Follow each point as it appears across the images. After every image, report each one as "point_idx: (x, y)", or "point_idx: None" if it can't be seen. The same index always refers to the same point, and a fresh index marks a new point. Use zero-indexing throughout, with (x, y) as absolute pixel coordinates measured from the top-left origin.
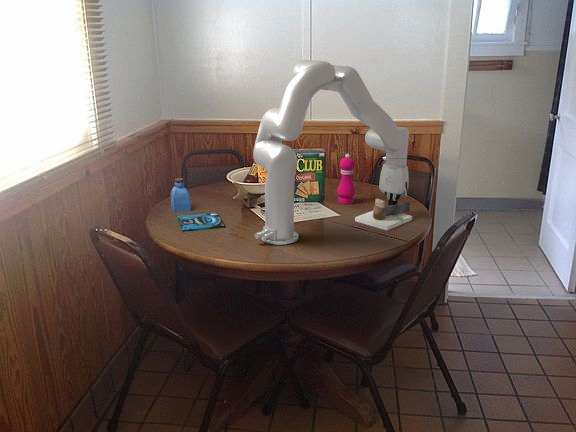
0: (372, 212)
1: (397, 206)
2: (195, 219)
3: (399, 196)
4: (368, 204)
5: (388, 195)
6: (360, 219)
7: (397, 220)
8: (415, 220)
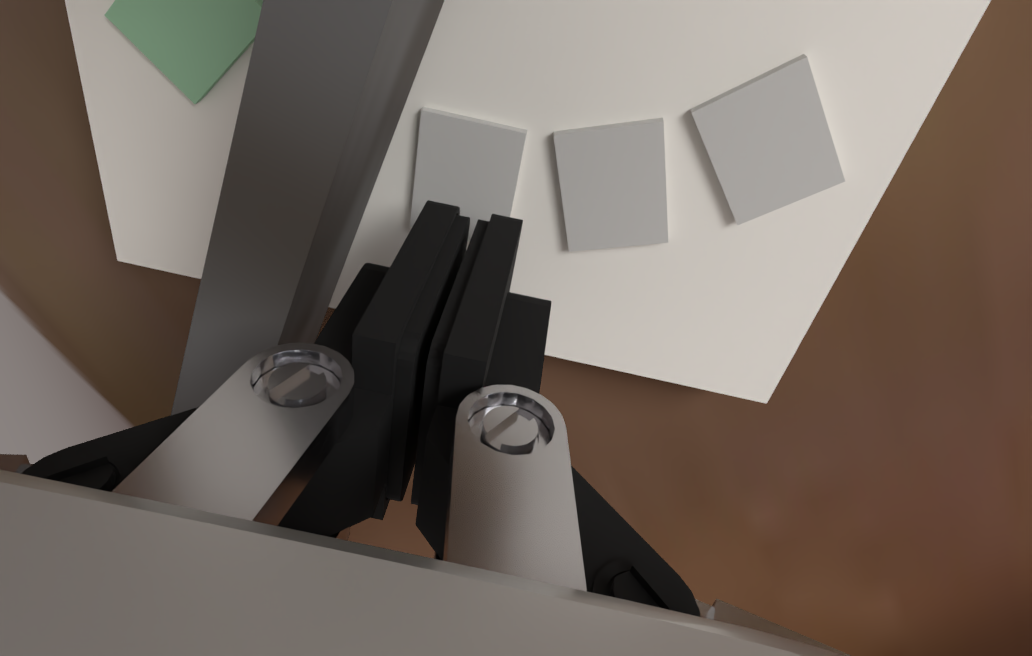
0: (875, 45)
1: (223, 227)
2: None
3: (37, 468)
4: (1003, 546)
5: (503, 491)
6: None
7: None
8: (112, 238)
